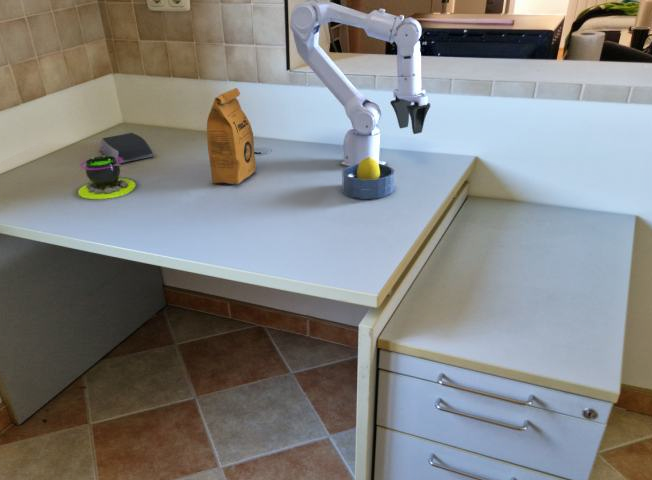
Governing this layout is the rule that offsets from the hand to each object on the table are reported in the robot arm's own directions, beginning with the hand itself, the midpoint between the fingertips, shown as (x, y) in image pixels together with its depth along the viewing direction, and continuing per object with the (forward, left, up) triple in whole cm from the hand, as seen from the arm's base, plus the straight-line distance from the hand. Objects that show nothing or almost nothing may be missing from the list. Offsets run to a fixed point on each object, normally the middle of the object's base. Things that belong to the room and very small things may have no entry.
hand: (410, 130), depth 155 cm
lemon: (+4, -21, -9) cm, 23 cm away
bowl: (+3, -21, -10) cm, 23 cm away
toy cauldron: (-51, -63, -10) cm, 82 cm away
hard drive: (-75, -43, -10) cm, 87 cm away
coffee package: (-30, -36, -10) cm, 48 cm away
